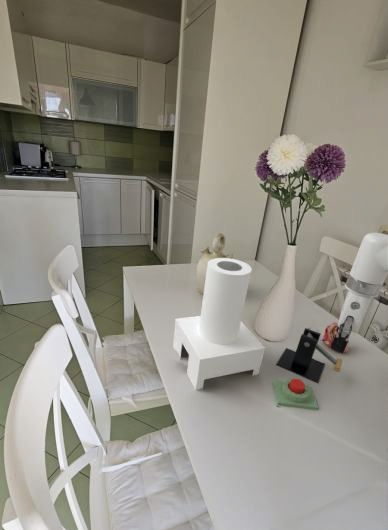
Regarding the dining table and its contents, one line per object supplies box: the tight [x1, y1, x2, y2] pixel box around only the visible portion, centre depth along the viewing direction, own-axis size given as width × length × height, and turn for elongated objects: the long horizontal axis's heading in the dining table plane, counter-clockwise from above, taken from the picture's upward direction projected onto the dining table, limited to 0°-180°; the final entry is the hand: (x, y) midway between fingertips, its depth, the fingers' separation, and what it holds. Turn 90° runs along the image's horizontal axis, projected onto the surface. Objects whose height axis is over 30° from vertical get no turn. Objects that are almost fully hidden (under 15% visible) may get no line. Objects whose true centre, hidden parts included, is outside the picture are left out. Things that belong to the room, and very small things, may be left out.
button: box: [289, 378, 306, 394], centre depth 77 cm, size 4×4×2 cm
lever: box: [306, 333, 343, 373], centre depth 85 cm, size 12×5×2 cm, turn 59°
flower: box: [319, 322, 349, 353], centre depth 100 cm, size 10×9×8 cm
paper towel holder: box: [172, 258, 266, 391], centre depth 82 cm, size 19×19×30 cm
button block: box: [271, 378, 319, 411], centre depth 78 cm, size 10×8×4 cm
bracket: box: [276, 327, 326, 384], centre depth 88 cm, size 12×10×12 cm
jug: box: [196, 232, 234, 295], centre depth 124 cm, size 15×16×25 cm
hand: (339, 341), depth 82 cm, fingers open, 9 cm apart
